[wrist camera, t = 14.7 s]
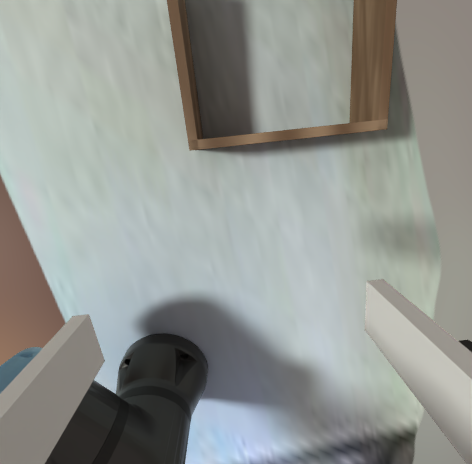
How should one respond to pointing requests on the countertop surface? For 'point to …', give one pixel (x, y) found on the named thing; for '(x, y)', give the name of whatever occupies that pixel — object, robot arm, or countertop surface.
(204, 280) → the countertop surface
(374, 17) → the walnut u-shaped bracket
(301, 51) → the countertop surface
